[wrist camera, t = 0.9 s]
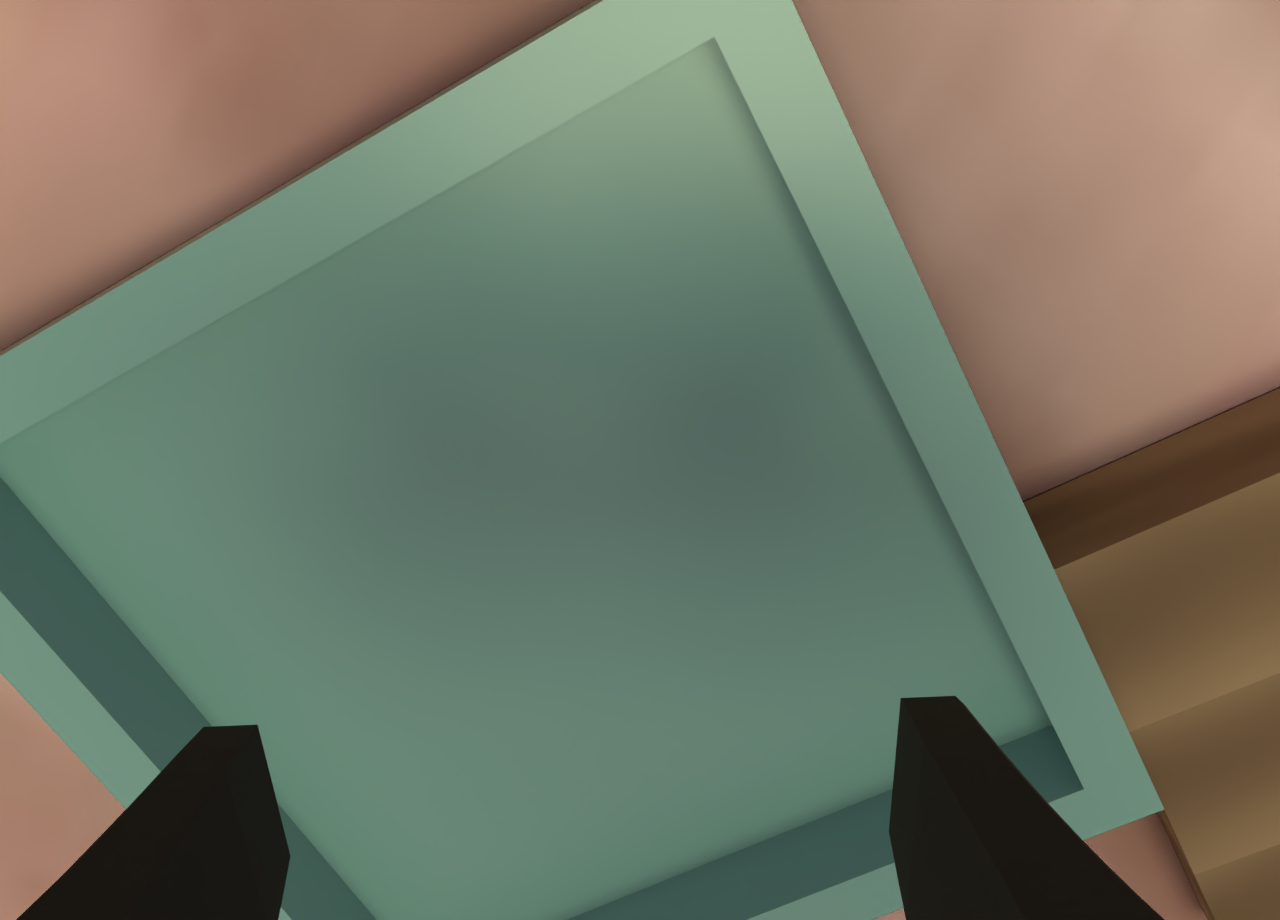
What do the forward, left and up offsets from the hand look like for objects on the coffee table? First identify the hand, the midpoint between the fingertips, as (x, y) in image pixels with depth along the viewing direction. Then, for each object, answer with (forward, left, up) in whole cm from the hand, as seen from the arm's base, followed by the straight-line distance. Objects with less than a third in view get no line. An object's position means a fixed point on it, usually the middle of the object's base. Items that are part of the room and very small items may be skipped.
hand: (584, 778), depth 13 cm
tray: (-2, +3, -10) cm, 11 cm away
